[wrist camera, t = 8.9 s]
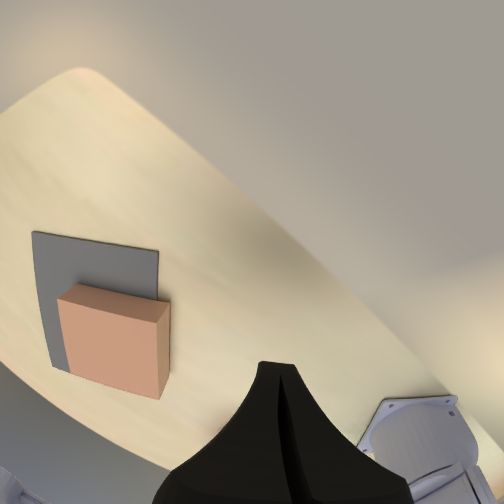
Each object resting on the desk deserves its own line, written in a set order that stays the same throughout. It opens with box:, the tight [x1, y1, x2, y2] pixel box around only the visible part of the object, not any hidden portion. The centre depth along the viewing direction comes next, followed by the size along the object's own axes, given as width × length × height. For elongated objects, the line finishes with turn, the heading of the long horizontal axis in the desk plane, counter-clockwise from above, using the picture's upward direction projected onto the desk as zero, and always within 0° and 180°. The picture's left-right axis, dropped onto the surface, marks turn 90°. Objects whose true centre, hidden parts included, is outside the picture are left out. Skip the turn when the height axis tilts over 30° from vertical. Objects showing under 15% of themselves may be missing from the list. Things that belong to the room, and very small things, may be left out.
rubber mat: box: [31, 231, 159, 386], centre depth 23 cm, size 12×14×1 cm
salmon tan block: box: [57, 283, 170, 400], centre depth 21 cm, size 3×7×8 cm
